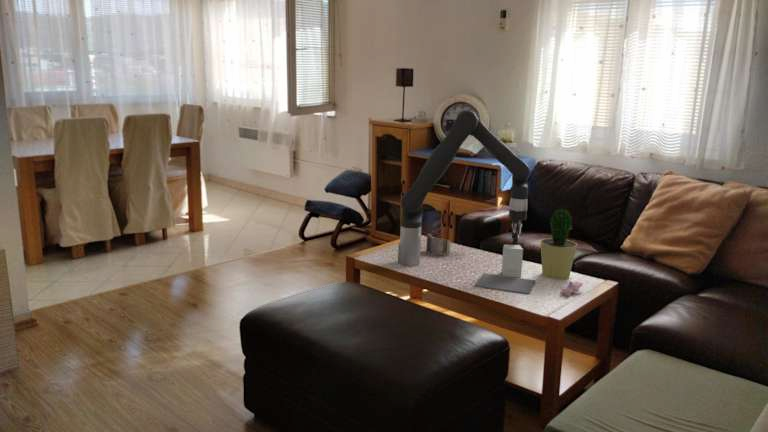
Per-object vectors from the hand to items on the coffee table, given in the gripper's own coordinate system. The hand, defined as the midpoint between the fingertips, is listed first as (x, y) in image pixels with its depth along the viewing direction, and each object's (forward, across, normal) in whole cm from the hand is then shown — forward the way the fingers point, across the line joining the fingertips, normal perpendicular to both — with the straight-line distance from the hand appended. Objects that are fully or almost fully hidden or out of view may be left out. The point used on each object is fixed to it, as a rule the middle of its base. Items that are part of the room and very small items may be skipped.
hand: (515, 247), depth 276 cm
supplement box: (+11, +6, 0) cm, 13 cm away
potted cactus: (+11, -2, +18) cm, 21 cm away
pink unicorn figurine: (+11, +20, +26) cm, 35 cm away
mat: (+11, +20, 0) cm, 23 cm away
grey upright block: (+12, -12, -38) cm, 42 cm away
